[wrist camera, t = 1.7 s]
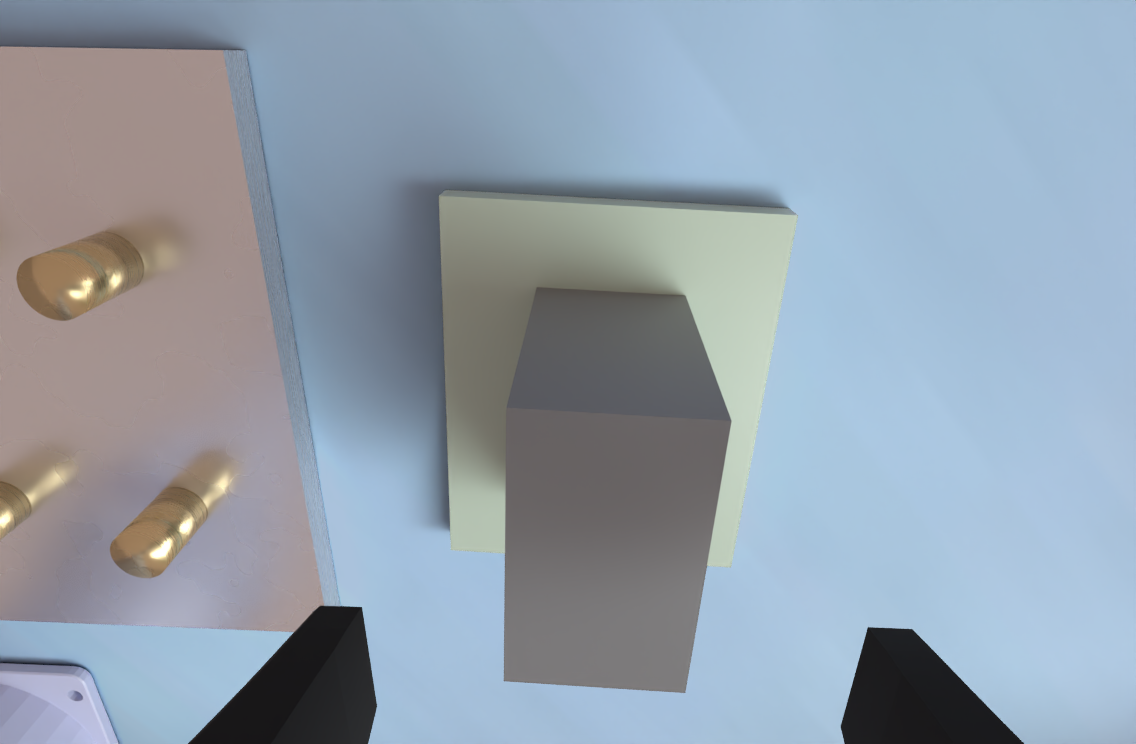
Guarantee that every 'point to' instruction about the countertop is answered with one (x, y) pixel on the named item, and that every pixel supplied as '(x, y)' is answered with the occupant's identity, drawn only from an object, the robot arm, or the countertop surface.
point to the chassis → (148, 352)
